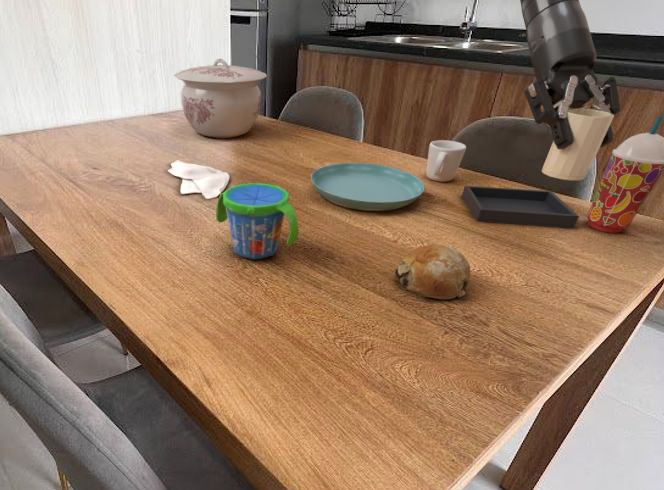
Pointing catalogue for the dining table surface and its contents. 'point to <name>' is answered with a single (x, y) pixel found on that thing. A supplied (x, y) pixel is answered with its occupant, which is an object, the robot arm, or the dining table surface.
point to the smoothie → (627, 181)
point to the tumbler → (578, 144)
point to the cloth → (200, 179)
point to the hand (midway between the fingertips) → (585, 145)
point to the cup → (444, 160)
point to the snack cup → (256, 218)
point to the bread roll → (434, 272)
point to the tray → (518, 207)
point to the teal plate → (366, 186)
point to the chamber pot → (221, 98)
